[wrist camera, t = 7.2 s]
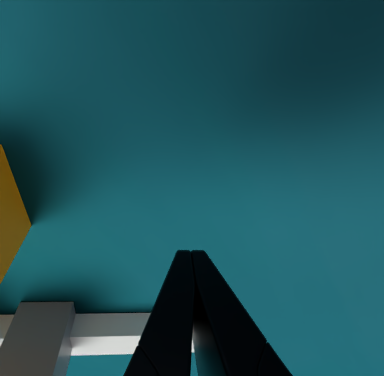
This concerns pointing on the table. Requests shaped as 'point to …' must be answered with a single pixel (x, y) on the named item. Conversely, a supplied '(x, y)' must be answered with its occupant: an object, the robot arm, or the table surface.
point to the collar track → (62, 337)
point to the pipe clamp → (10, 216)
